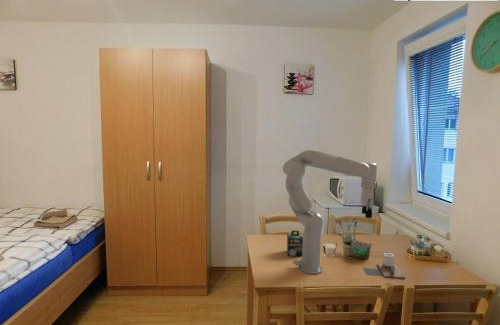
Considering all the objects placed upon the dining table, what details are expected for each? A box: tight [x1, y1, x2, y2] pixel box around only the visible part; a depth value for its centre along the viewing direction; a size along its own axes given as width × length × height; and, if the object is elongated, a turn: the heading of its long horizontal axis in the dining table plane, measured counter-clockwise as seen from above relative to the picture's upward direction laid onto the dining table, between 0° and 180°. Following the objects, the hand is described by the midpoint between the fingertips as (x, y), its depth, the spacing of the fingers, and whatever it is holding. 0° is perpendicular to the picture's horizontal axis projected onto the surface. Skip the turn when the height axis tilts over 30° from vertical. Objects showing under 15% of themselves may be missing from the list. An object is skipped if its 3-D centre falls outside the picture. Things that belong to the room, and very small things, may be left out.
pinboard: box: [376, 263, 406, 280], centre depth 166 cm, size 10×15×5 cm, turn 171°
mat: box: [362, 267, 384, 277], centre depth 165 cm, size 9×9×1 cm
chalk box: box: [286, 230, 303, 258], centre depth 189 cm, size 9×9×15 cm
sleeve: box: [382, 252, 395, 269], centre depth 169 cm, size 4×4×7 cm
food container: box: [350, 239, 373, 261], centre depth 184 cm, size 12×6×10 cm, turn 47°
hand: (366, 215), depth 172 cm, fingers open, 9 cm apart
